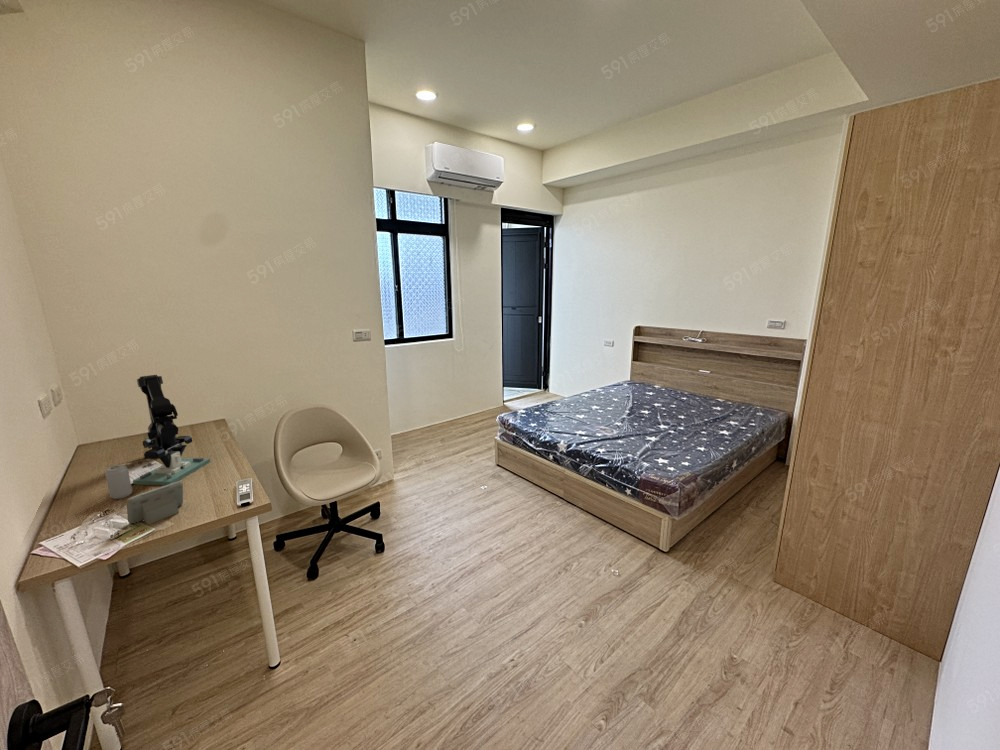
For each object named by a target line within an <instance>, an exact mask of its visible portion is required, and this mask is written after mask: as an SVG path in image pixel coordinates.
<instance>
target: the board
mask: <svg viewBox="0 0 1000 750" xmlns="http://www.w3.org/2000/svg"><path fill="white" fill-rule="evenodd" d="M181 461H182V467H178V468H176V469H164V468H163V464H162V465H160V466H158V467H156V468H155V469H153V470H151V471H148V472H145V473H144V474H141V475H140V476H139V477H137V478H135V479H133V480H132V484H133V485H143V486H145V485H151V486H153V485H156V486H159V485H160V486H166V485H168V484H171V483H174V482H179V481H181V480H182V479H184V478H186V477H187V476H189V475H190V474H192V473H194V472H196V471H197V470H199V469H201V468H203V467H204V466H206V465H207V464H210V463H211V458H204V457H191V458H190V457H189V458H188V457H181Z"/></svg>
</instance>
